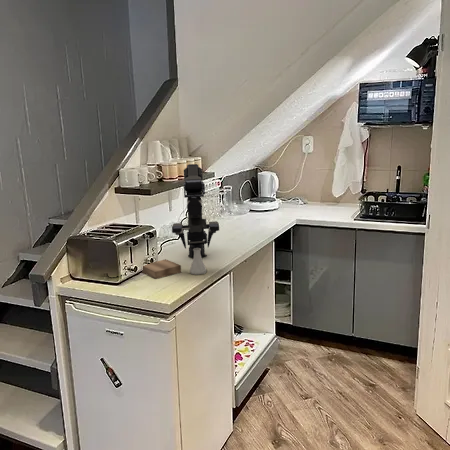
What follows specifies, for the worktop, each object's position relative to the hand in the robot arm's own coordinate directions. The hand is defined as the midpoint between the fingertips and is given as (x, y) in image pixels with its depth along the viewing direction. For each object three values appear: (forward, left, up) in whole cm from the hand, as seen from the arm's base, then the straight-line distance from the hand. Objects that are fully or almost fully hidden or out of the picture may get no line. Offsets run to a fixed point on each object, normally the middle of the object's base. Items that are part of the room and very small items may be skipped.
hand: (196, 247), depth 185 cm
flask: (0, 0, -11) cm, 11 cm away
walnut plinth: (+11, -11, -10) cm, 19 cm away
